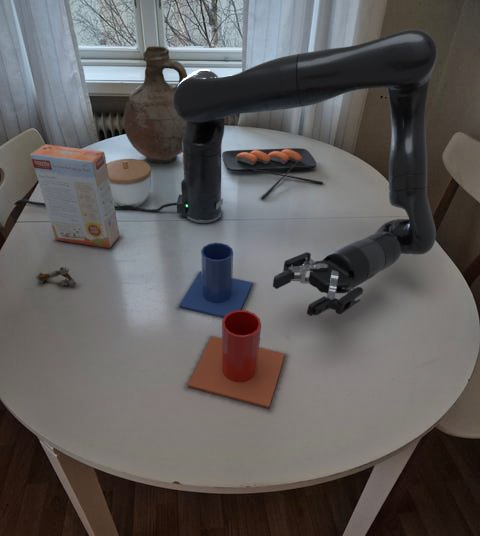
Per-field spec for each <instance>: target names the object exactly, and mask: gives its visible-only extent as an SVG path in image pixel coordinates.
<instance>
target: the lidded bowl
mask: <svg viewBox="0 0 480 536" xmlns="http://www.w3.org/2000/svg"><path fill="white" fill-rule="evenodd" d="M106 164H107V170H108V175H109V181H110V186H111V192H112V197H113V202H114V203H117V205H118V206H133V207H140V206H141V205H143V204H144V203H145V201H146V200H147V198H148V197H149V195H150V193H151V190H152V167H151V165H150V164H149V163H148V162H146V161H144V160H141V159H136V158H121V159H116V160H111V161H109V162H106Z"/></svg>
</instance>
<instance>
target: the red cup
mask: <svg viewBox="0 0 480 536" xmlns="http://www.w3.org/2000/svg"><path fill="white" fill-rule="evenodd" d="M261 330H262V322H261V318H260V317H259V316H258V315H257V314H256V313H255V312H253V311H249V310H246V309H245V310H243V309H241V310H237V311H232V312H230V313H228V314H227V315H226V316H225V317H224V318H222V321H221V339H222V372H223V374H224V376H225V377H226V378H228V379H229V380H231V381H234V382H245V381H248V380H250V379H251V378H253V377H254V375H255V374H256V369H257V363H258V353H259V348H260V342H261V333H262V331H261Z"/></svg>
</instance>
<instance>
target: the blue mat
mask: <svg viewBox="0 0 480 536" xmlns="http://www.w3.org/2000/svg"><path fill="white" fill-rule="evenodd" d="M253 283H254V282H252V281H247V280H243V279H239V278H233V277H232V295H231V297H230V299H228V300H227V301H225V302H222V303H212V302H210V301H207V300H206V299H205V298H204V297H203V293H202V270H201V271H199V272H198V274H197V276H196V277H195V279H194V281H193V282H192V283H191V285H190V287H189V288H188V290H187V292H186V293H185V295H184V297H183V299H181V302H180V303H179V306H178V308H180V309H184V310H188V311H193V312H198V313H201V314H205V315H210V316H215V317H219V318H222V319H224V317H225V316H226V315H227V314H228V313H230V312H232V311H237V310H243V307H244V305H245V302H246V300H247V298H248V295H249V293H250V291H251V289H252V287H253V285H254V284H253Z"/></svg>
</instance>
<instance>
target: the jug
mask: <svg viewBox="0 0 480 536" xmlns="http://www.w3.org/2000/svg"><path fill="white" fill-rule="evenodd" d="M143 58H144V60H145V63H146V65H145V69H144V80H143V83H142V84H140V85H139V86H138V87H137V88H135V89H134V90H132V91H131V92H130V93H129V95H128V98H127V102H126V104H125V107H124V112H123V120H122V121H123V128H124V133H125V135H126V138H127V139H128V141H129V143H130V144H131V146H132V147H133V148H134V149H135V150H136V151H137V152H138V153H139V154H141V155H143V156H144V157H146V159H148V160H149V161H151V162H153V163H169V162H172V161H175V159H176V158H177V156H178V155H180V154H181V153H183V152H182V137H183V134H184V131H185V127H186V122H187V121H185V120H183V119H182V118H181V117H180V116H179V115H178V114H177V112H176V111H175V109H174V105H173V96H174V92H175V90H176V88H177V86H178V85H179V84H180V82H181V81H182V80H184V79H185V78H186V77H188V72H187V70H186V68H185V67H184V65H183V64H182V63H181V62H179V61H178V60H172V59H171V58H170V50H169V49H168V47H166V46H161V45H160V46H159V45H155V46H154V45H153V46H152V45H151V46H150V45H149V46H147V47H146V49H145V50H144V53H143ZM165 69H170V70H174V71H176V73H178V77H179V79H178V83H177V84H176V85H175V86H174V85H172V84H170V83H168V82H167V81H166V79H165V77H164V70H165Z"/></svg>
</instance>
